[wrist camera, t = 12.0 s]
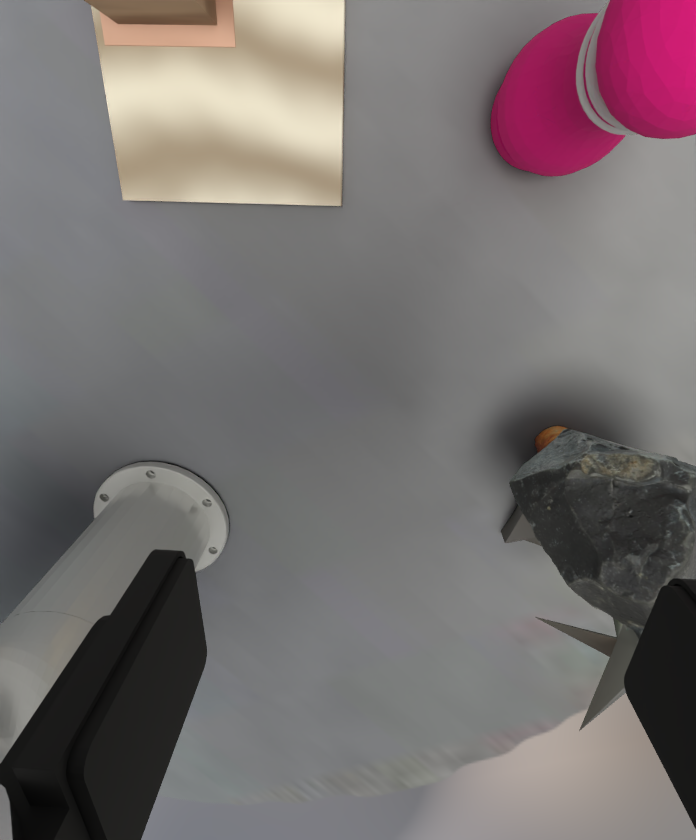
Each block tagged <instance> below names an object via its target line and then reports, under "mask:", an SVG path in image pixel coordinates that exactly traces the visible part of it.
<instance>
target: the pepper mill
mask: <svg viewBox="0 0 696 840" xmlns="http://www.w3.org/2000/svg"><path fill="white" fill-rule="evenodd" d="M491 132H492V138H493V141H494V144H495V146H496V149H497V150H498V152H499V154H500V155H501V156H502V158H503V159H504V160H505V161H506V162H508V163H509V164H510V165H512V166H514V167H516V168H518V169H521V170H525V171H530V172H532V173H535V174H539V175H543V176H563V175H567V174H571V173H574V172H576V171H579V170H581V169H584V168H586V167H588V166H590V165H592V164H594V163H596V162H597V161H599V160H600V159H602V158H603V157H604V156H605V155H607V154H608V153H609V152H610V151H611V150H612V149H613V148H614V147H615V146H616V145H617V144H618V143H619V142H620V141H621V140H622V139H623V138H624V137H625V136H626V135H634V134H640V135H642V136H645V137H651V138H660V139H669V138H682V137H686V136H690V135H694V134H696V0H610V1H609V2H608V3H607V4H606V5H605V6H604V7H603V8H602V10H601V11H600V12H599V13H592V14H579V15H575V16H570V17H567V18H565V19H562V20H560V21H558V22H556V23H554V24H552V25H551V26H549V27H548V28H546V29H545V30H543V31H542V32H540V33H539V34H538V35H536V36H535V37H534V38H533V39H532V40H531V41H530V42H529V43H527V44H526V45H525V46H524V47H523V49H522V50H521V51H520V53H519V54H518V55H517V57H516V58H515V59H514V61H513V63H512V65H511V66H510V68H509V70H508V72H507V74H506V76H505V79H504V82H503V84H502V85H501V87H500V89H499V91H498V93H497V95H496V98H495V101H494V104H493V108H492V113H491Z"/></svg>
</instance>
